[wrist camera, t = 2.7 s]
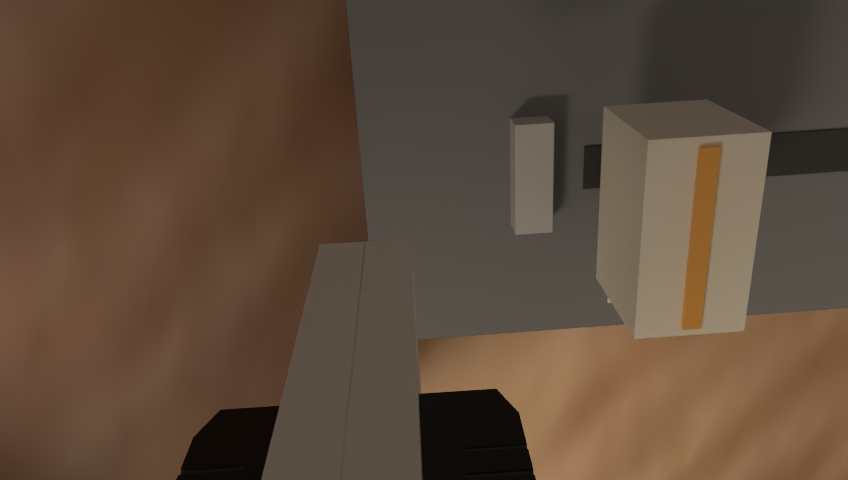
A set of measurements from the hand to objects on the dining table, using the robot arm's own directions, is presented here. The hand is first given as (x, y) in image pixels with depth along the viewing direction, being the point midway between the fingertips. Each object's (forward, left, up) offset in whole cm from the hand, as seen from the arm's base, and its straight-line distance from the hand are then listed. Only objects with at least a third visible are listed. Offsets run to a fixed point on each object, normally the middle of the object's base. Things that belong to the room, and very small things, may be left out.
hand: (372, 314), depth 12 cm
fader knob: (+7, 0, -7) cm, 10 cm away
